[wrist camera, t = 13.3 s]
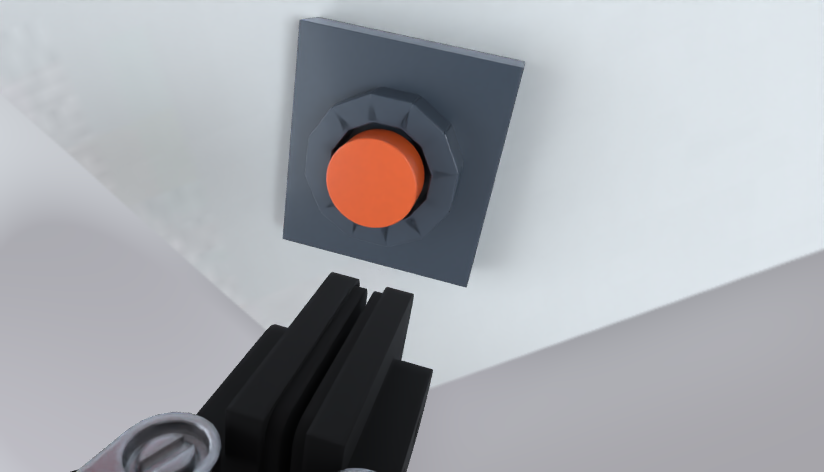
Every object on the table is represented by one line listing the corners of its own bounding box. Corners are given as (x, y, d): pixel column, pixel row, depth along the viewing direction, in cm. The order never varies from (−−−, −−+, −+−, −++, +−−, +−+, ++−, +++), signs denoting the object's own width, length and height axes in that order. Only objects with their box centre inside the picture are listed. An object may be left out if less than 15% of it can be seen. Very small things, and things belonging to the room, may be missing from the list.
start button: (416, 222, 25) (407, 238, 24) (334, 202, 26) (321, 215, 24) (432, 139, 23) (424, 150, 22) (344, 119, 24) (330, 128, 22)
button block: (471, 268, 30) (461, 306, 26) (298, 223, 31) (267, 253, 27) (525, 61, 25) (522, 73, 21) (317, 16, 26) (282, 21, 22)
